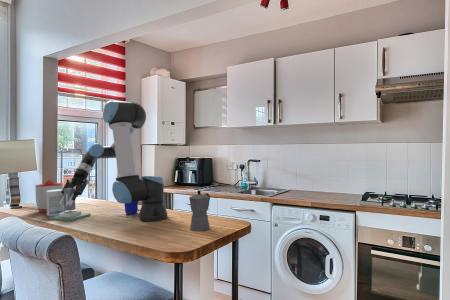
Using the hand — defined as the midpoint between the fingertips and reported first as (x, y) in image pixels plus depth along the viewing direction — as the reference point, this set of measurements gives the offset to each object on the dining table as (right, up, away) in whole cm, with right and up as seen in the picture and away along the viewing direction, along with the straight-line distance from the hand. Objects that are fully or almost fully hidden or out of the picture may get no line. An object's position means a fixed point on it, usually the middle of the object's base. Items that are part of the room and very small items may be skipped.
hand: (65, 204), depth 167 cm
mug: (+35, -7, +11) cm, 38 cm away
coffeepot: (+78, -7, -26) cm, 82 cm away
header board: (+1, -8, +4) cm, 9 cm away
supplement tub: (-12, -9, +12) cm, 19 cm away
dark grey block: (+1, -4, +4) cm, 5 cm away
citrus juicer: (-23, -9, +26) cm, 36 cm away
